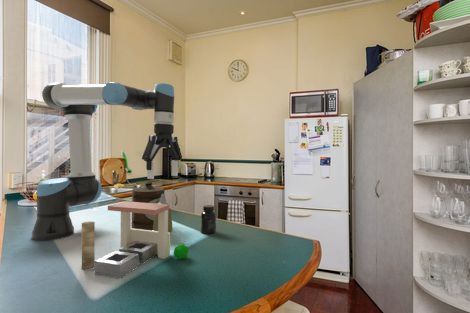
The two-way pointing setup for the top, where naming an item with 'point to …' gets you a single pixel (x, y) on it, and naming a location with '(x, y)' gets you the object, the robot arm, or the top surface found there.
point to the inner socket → (141, 250)
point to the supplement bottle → (208, 220)
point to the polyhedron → (181, 251)
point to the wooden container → (145, 196)
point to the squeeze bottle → (155, 224)
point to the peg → (88, 245)
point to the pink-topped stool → (144, 235)
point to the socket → (116, 264)
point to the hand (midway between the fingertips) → (163, 177)
